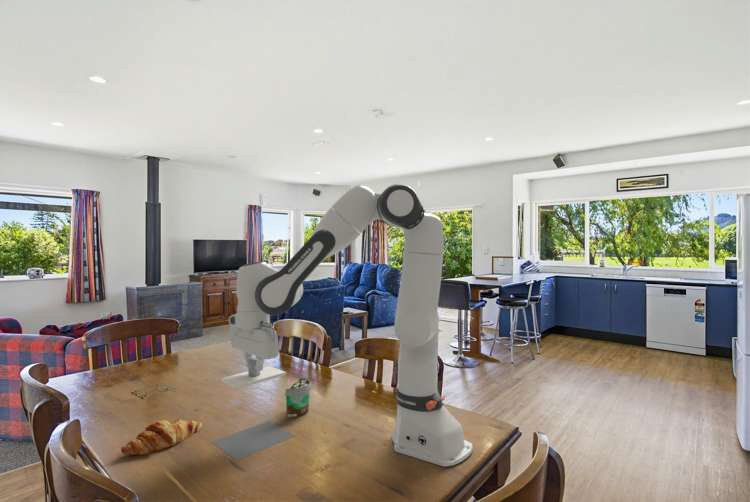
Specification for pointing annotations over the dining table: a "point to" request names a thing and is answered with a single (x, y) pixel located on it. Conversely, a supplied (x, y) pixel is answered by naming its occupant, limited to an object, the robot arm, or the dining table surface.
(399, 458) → the dining table surface
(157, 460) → the dining table surface
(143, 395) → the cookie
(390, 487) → the dining table surface
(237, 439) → the mat
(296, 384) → the food container
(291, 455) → the dining table surface
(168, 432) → the croissant
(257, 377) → the lid
